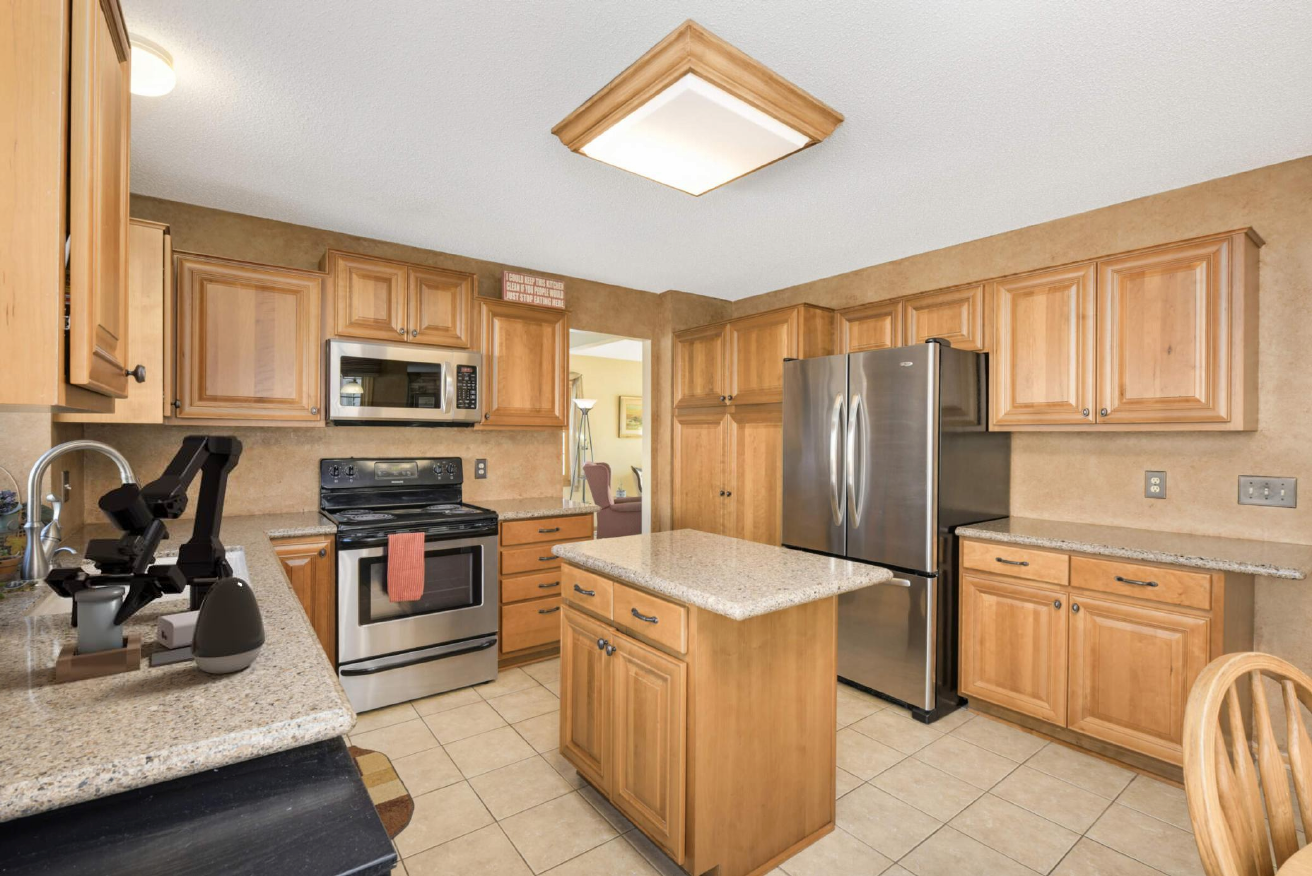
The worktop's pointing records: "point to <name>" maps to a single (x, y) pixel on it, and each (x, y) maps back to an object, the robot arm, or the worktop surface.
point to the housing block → (98, 660)
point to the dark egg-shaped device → (228, 628)
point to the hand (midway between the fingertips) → (94, 625)
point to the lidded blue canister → (99, 619)
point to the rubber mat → (171, 656)
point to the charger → (176, 629)
